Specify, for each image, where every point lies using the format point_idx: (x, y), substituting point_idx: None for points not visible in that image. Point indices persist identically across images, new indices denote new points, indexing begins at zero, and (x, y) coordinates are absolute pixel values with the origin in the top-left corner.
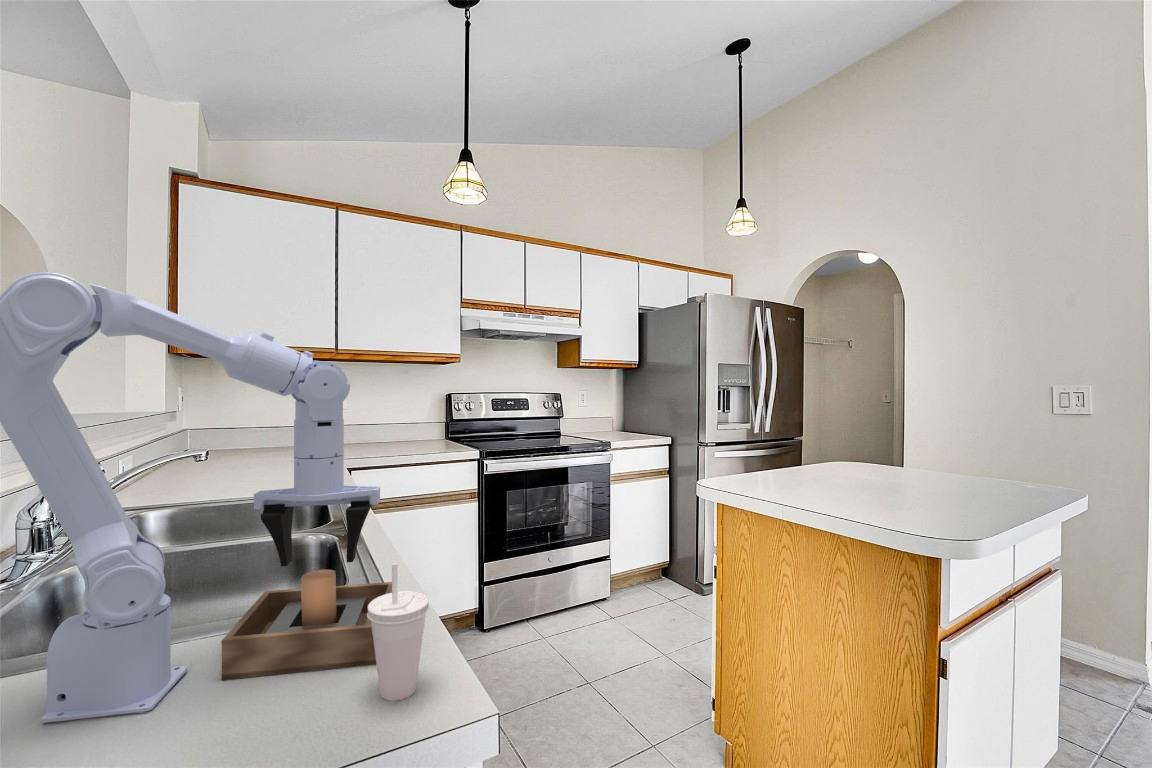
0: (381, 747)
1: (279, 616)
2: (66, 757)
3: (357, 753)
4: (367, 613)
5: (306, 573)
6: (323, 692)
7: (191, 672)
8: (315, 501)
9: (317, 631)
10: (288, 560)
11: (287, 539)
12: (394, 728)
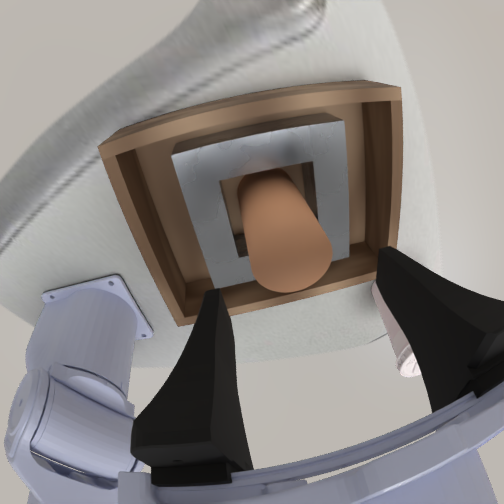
0: (373, 337)
1: (194, 221)
2: (144, 367)
3: (358, 344)
4: (396, 363)
5: (254, 252)
6: None
7: (126, 274)
8: (355, 463)
9: (308, 296)
10: (227, 316)
11: (228, 365)
12: (381, 322)
